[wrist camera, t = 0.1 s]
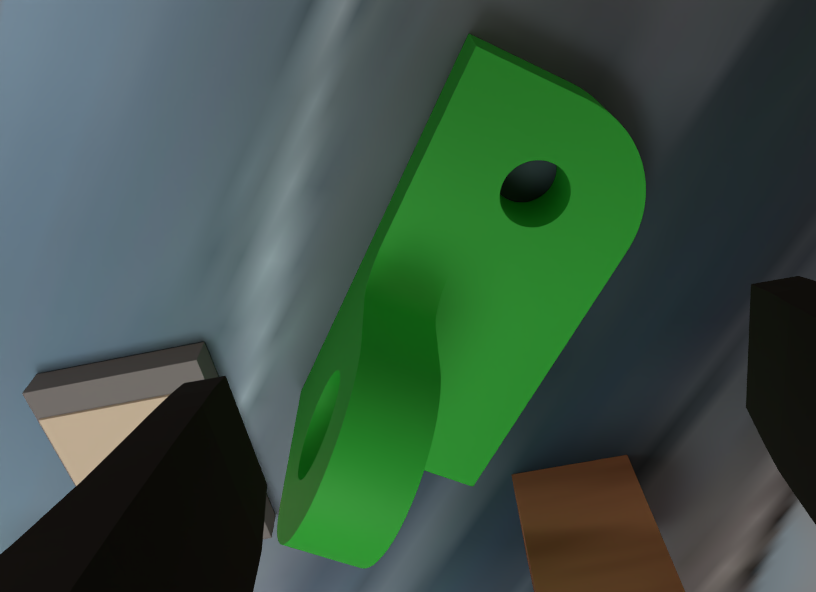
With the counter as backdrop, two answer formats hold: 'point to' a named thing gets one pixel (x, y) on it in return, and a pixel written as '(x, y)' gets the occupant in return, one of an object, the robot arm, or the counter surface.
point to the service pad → (112, 403)
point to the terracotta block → (592, 530)
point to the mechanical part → (458, 301)
